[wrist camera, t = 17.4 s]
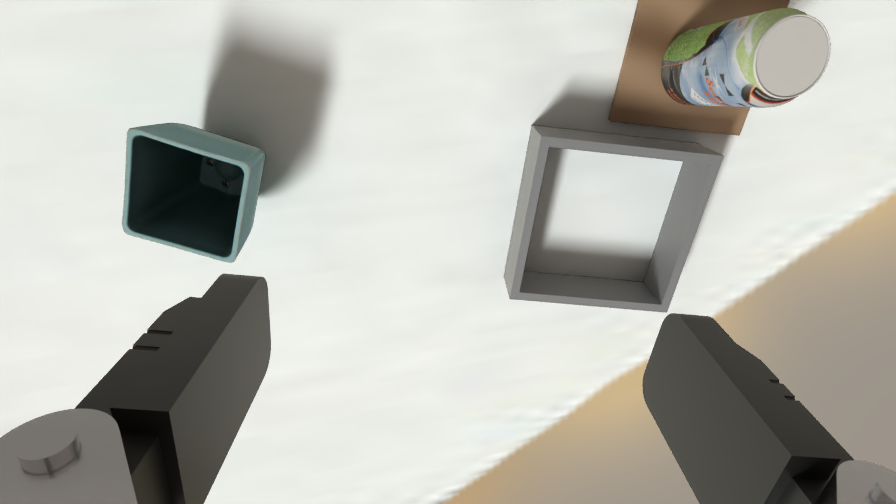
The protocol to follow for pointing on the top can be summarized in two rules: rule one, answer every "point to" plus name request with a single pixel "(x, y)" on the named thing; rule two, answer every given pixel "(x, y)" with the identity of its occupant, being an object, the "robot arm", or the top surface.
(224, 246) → the flower pot
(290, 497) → the top surface
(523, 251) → the bin
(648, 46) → the pad
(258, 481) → the top surface
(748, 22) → the beverage can
